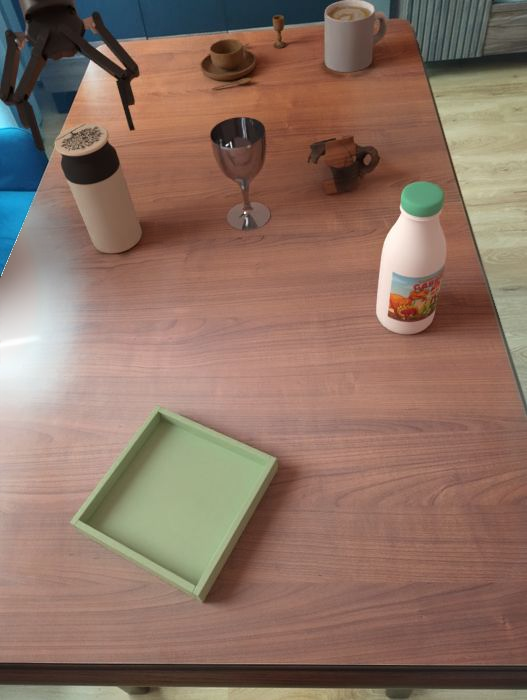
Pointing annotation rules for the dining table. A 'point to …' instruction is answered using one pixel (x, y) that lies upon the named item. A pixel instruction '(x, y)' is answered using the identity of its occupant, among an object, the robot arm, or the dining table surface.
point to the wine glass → (242, 165)
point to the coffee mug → (351, 34)
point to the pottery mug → (343, 162)
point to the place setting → (235, 58)
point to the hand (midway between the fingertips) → (86, 138)
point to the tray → (177, 500)
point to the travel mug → (99, 187)
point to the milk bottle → (412, 261)
